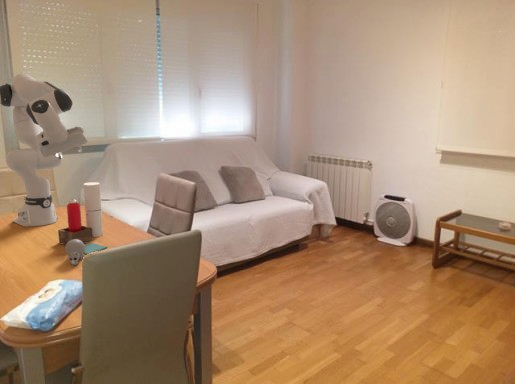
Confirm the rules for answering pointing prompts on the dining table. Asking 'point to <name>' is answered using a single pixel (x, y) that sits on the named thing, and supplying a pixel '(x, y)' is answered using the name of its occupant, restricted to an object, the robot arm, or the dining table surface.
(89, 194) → the cylindrical container
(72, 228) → the red bottle
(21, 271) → the dining table surface
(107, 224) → the dining table surface
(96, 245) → the mat
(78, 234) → the brown open wooden box
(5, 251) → the dining table surface
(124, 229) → the dining table surface
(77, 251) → the grey animal figurine
